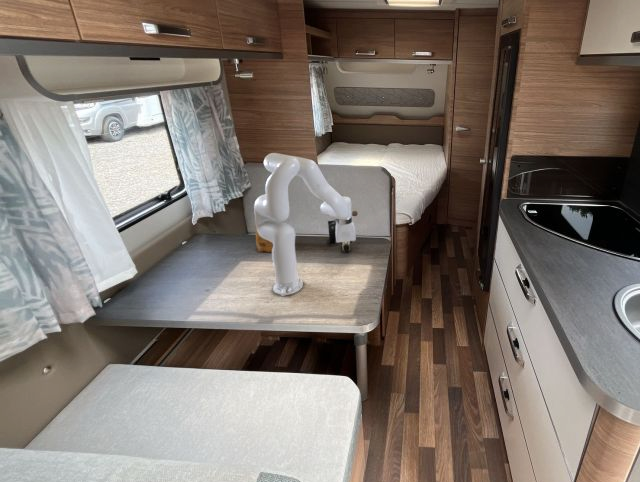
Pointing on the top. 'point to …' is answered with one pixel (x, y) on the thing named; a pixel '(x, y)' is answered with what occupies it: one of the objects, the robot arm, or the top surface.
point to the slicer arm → (352, 215)
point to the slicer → (332, 232)
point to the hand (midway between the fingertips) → (346, 251)
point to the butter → (346, 249)
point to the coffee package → (263, 243)
